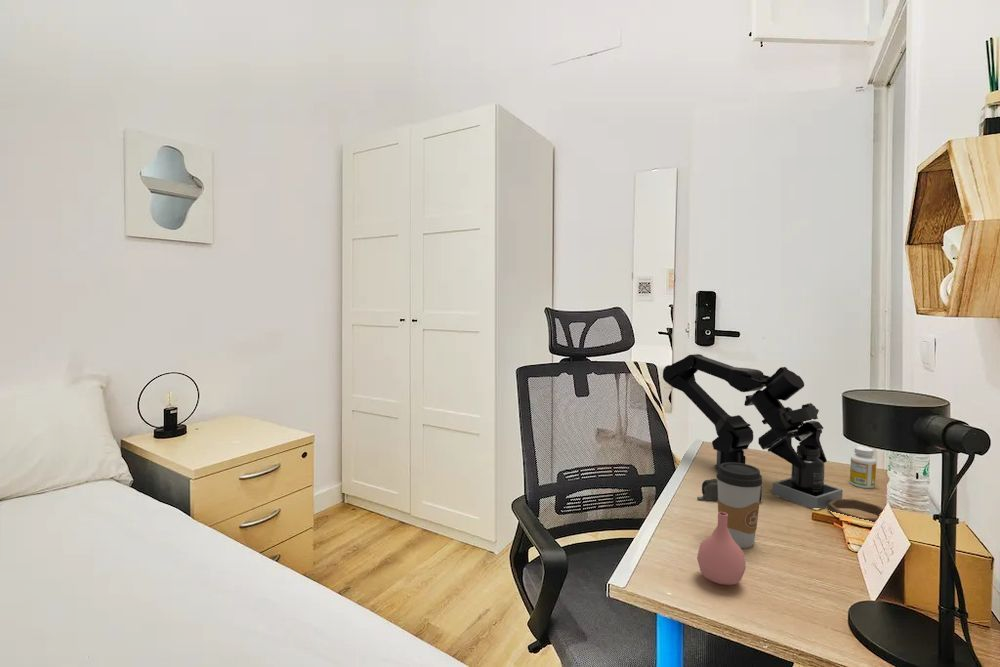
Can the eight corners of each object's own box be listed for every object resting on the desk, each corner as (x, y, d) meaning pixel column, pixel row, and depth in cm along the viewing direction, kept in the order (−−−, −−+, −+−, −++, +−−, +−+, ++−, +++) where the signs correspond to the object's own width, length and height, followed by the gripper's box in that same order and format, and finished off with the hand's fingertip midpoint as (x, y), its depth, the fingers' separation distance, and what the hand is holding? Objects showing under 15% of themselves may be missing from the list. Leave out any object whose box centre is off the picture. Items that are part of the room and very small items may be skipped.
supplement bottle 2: (866, 481, 132) (868, 445, 132) (879, 489, 127) (882, 452, 126) (845, 480, 133) (847, 445, 132) (857, 488, 127) (859, 451, 127)
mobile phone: (759, 480, 120) (695, 476, 121) (764, 485, 117) (699, 481, 118) (757, 500, 121) (694, 496, 122) (763, 505, 118) (698, 501, 119)
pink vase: (754, 584, 84) (757, 516, 84) (728, 599, 80) (730, 528, 79) (713, 564, 91) (715, 500, 90) (687, 576, 87) (689, 510, 86)
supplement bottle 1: (818, 491, 123) (821, 444, 122) (826, 502, 117) (829, 453, 116) (787, 488, 126) (789, 442, 125) (793, 498, 119) (796, 450, 118)
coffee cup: (741, 555, 94) (744, 478, 93) (705, 536, 101) (707, 465, 100) (769, 545, 98) (772, 471, 97) (732, 528, 105) (734, 459, 104)
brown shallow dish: (847, 526, 106) (847, 518, 106) (820, 505, 117) (820, 497, 117) (901, 529, 105) (901, 520, 105) (869, 507, 116) (869, 500, 116)
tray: (772, 494, 123) (772, 482, 123) (797, 486, 128) (798, 475, 128) (816, 510, 114) (816, 498, 114) (842, 501, 119) (842, 489, 119)
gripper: (772, 396, 118) (817, 454, 109) (817, 389, 127) (862, 443, 118) (741, 421, 126) (781, 477, 117) (786, 413, 135) (826, 465, 126)
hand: (814, 465), depth 119 cm, fingers open, 9 cm apart
